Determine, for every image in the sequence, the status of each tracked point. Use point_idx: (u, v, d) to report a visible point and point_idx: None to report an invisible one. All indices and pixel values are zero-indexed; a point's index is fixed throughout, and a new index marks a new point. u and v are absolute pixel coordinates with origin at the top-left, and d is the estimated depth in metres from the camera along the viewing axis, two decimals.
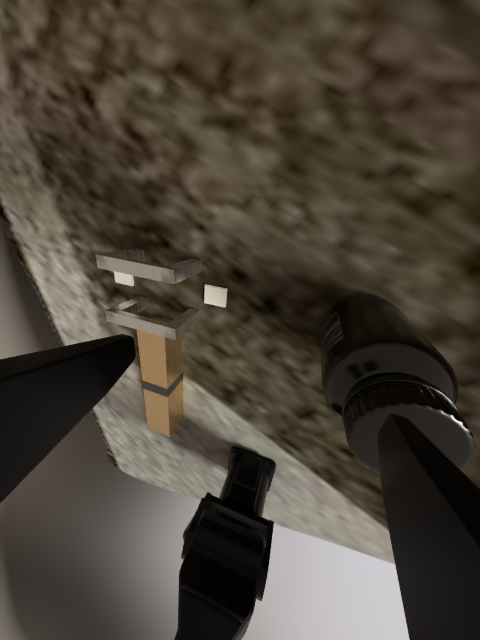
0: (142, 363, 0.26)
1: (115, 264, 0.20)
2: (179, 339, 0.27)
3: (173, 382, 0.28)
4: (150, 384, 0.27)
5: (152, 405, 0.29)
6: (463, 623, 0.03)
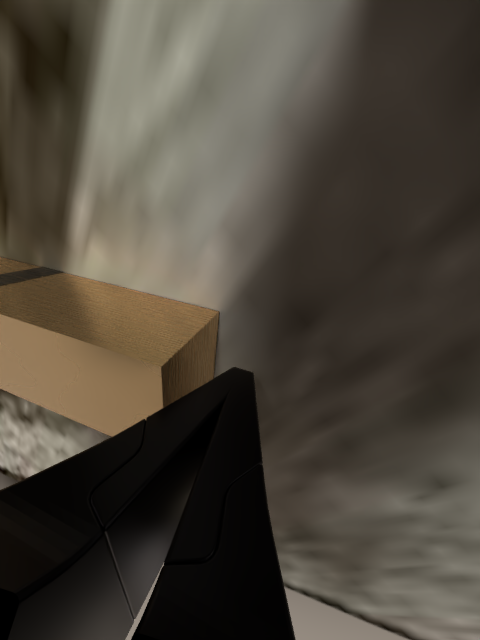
0: None
1: None
2: None
3: None
4: None
5: (30, 380, 0.07)
6: None
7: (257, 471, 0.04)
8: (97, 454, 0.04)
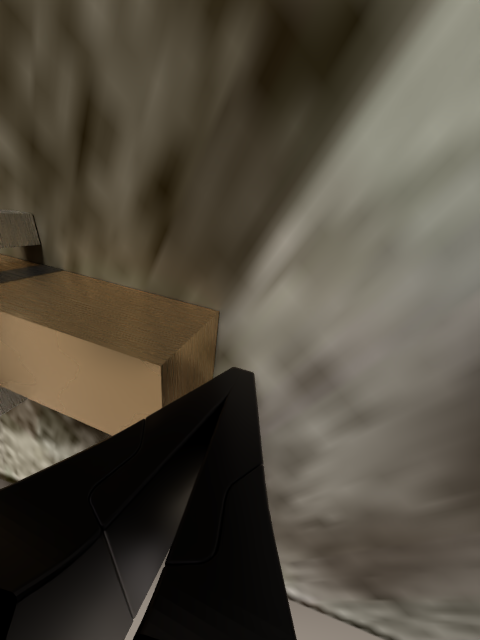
0: None
1: None
2: None
3: None
4: None
5: (29, 377, 0.07)
6: None
7: (258, 471, 0.04)
8: (97, 454, 0.04)
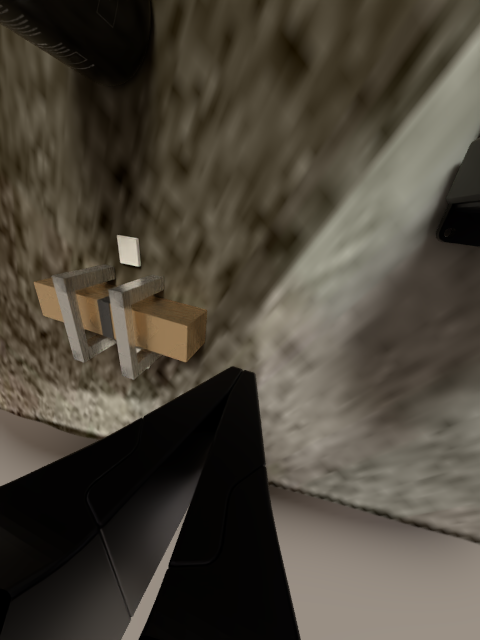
0: None
1: (73, 340, 0.20)
2: None
3: None
4: (102, 324, 0.20)
5: (135, 334, 0.19)
6: None
7: (260, 473, 0.04)
8: (94, 453, 0.04)
